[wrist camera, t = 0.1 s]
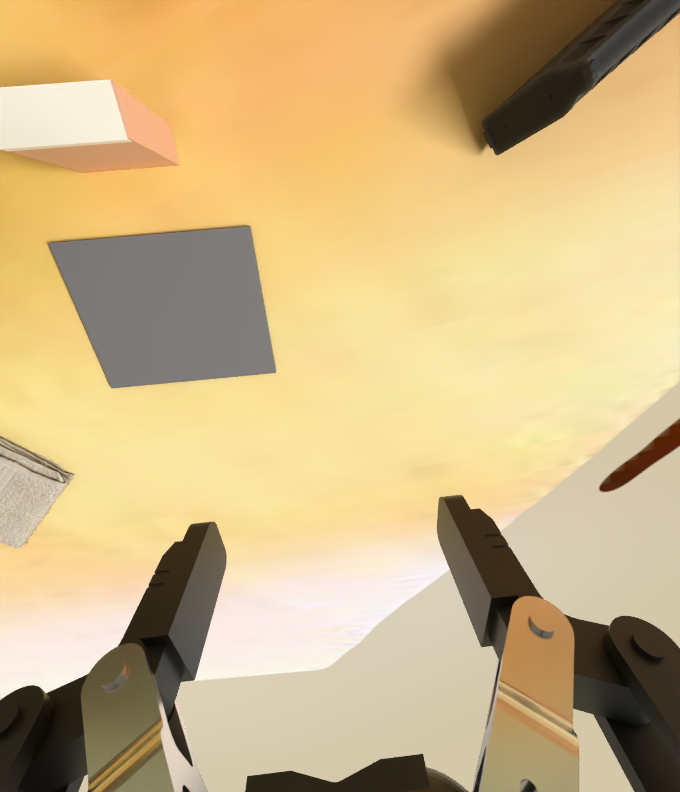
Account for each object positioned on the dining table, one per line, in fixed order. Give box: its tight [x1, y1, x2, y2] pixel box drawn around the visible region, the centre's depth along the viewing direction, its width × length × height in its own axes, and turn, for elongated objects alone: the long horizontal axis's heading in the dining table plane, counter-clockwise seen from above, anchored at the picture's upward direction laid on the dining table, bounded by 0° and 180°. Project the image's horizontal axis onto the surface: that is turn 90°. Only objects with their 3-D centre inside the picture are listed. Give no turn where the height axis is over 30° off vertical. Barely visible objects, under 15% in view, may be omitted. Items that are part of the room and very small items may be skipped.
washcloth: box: [0, 436, 75, 548], centre depth 44 cm, size 12×18×3 cm, turn 138°
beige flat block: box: [0, 80, 180, 173], centre depth 25 cm, size 3×9×9 cm, turn 94°
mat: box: [48, 226, 276, 388], centre depth 36 cm, size 16×20×1 cm
